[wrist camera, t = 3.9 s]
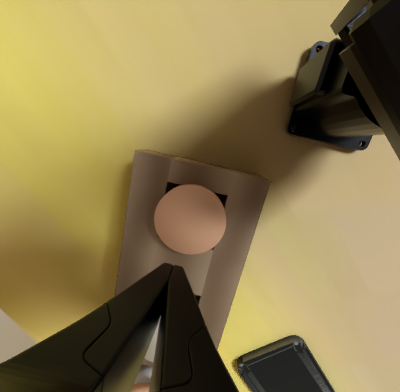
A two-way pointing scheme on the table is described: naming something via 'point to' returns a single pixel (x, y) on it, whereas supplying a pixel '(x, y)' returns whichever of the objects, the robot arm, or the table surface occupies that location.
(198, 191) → the knob
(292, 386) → the phone
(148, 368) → the knob
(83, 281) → the table surface
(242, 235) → the knob mount
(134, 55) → the table surface
